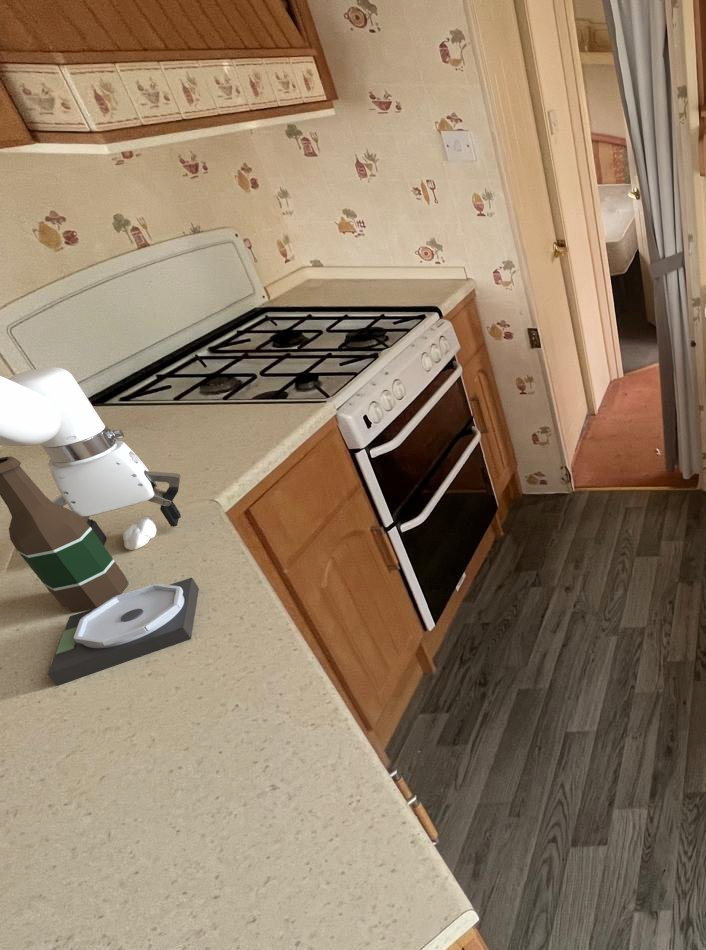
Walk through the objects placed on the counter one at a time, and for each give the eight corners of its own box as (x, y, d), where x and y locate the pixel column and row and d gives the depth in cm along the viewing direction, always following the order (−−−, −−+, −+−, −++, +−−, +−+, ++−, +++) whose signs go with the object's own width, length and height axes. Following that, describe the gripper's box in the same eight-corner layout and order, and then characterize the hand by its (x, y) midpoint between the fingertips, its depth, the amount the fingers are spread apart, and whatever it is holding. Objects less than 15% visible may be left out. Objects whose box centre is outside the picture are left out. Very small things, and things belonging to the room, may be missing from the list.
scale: (57, 685, 88) (40, 666, 86) (78, 627, 97) (63, 608, 95) (191, 638, 94) (178, 619, 92) (199, 588, 104) (187, 570, 102)
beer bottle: (129, 572, 108) (38, 441, 95) (131, 595, 103) (34, 461, 90) (63, 595, 103) (-42, 461, 91) (62, 621, 98) (-50, 483, 86)
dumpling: (168, 542, 115) (150, 528, 112) (132, 560, 112) (113, 546, 110) (162, 519, 118) (145, 505, 116) (128, 535, 116) (109, 521, 113)
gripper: (154, 420, 112) (204, 505, 121) (11, 453, 104) (77, 541, 113) (148, 438, 107) (201, 525, 115) (-3, 474, 99) (67, 564, 107)
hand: (139, 532), depth 114 cm, fingers open, 9 cm apart
